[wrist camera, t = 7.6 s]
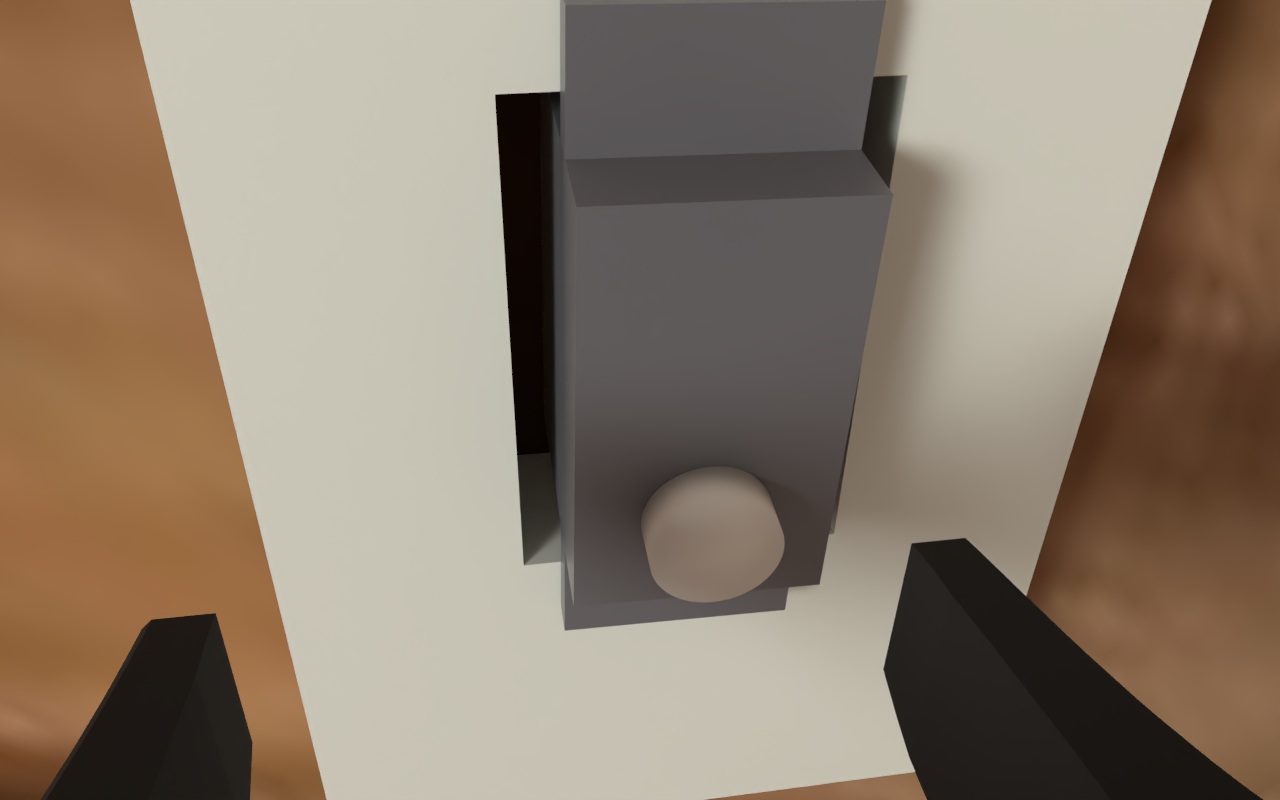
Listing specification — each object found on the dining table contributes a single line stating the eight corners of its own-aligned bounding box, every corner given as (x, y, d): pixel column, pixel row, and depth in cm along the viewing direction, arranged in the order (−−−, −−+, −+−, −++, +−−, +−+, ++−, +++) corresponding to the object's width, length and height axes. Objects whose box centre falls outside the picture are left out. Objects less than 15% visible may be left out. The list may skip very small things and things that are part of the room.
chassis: (927, 660, 29) (974, 764, 26) (344, 730, 27) (338, 847, 24) (1159, -271, 17) (1284, -234, 14) (128, -265, 15) (75, -221, 12)
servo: (738, 476, 24) (816, 703, 20) (544, 491, 24) (578, 729, 19) (805, -83, 17) (947, 64, 13) (537, -82, 17) (586, 72, 12)
